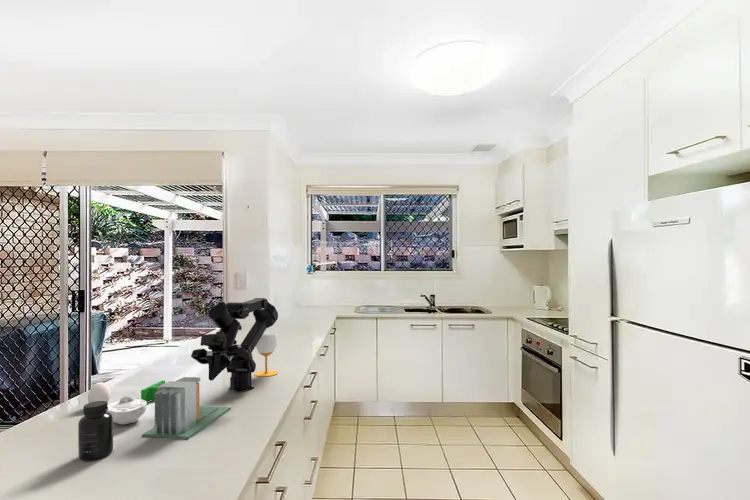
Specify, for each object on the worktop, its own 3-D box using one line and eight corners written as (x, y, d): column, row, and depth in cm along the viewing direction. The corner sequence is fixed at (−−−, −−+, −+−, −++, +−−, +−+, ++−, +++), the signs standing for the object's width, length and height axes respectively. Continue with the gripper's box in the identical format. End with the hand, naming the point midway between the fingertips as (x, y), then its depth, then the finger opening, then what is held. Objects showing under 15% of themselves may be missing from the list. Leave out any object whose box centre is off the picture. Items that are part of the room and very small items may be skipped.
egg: (82, 409, 131) (83, 384, 132) (101, 402, 137) (101, 379, 137) (96, 411, 129) (97, 386, 130) (115, 404, 135) (115, 380, 135)
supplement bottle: (89, 449, 102) (89, 399, 103) (118, 448, 103) (118, 398, 103) (71, 462, 96) (71, 409, 96) (102, 461, 96) (103, 408, 96)
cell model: (103, 433, 112) (103, 407, 113) (107, 418, 123) (107, 395, 123) (146, 426, 117) (146, 401, 117) (147, 412, 128) (147, 389, 128)
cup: (274, 376, 166) (274, 335, 166) (251, 377, 166) (251, 335, 166) (279, 370, 175) (279, 331, 176) (258, 371, 175) (257, 332, 175)
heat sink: (195, 410, 129) (195, 369, 129) (219, 411, 128) (219, 370, 128) (152, 436, 110) (152, 388, 110) (180, 437, 109) (180, 389, 109)
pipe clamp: (152, 404, 135) (152, 390, 135) (141, 404, 136) (141, 390, 136) (172, 393, 147) (172, 380, 147) (162, 393, 147) (161, 380, 147)
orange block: (183, 417, 121) (183, 382, 121) (199, 418, 120) (199, 382, 120) (178, 420, 119) (179, 384, 119) (195, 420, 118) (195, 384, 118)
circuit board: (191, 407, 131) (191, 405, 131) (230, 409, 129) (230, 407, 129) (142, 436, 110) (142, 434, 110) (188, 439, 108) (188, 436, 108)
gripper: (189, 325, 139) (169, 370, 129) (236, 320, 133) (219, 366, 123) (210, 342, 146) (193, 385, 136) (255, 337, 140) (241, 382, 130)
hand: (210, 380), depth 131 cm, fingers closed
